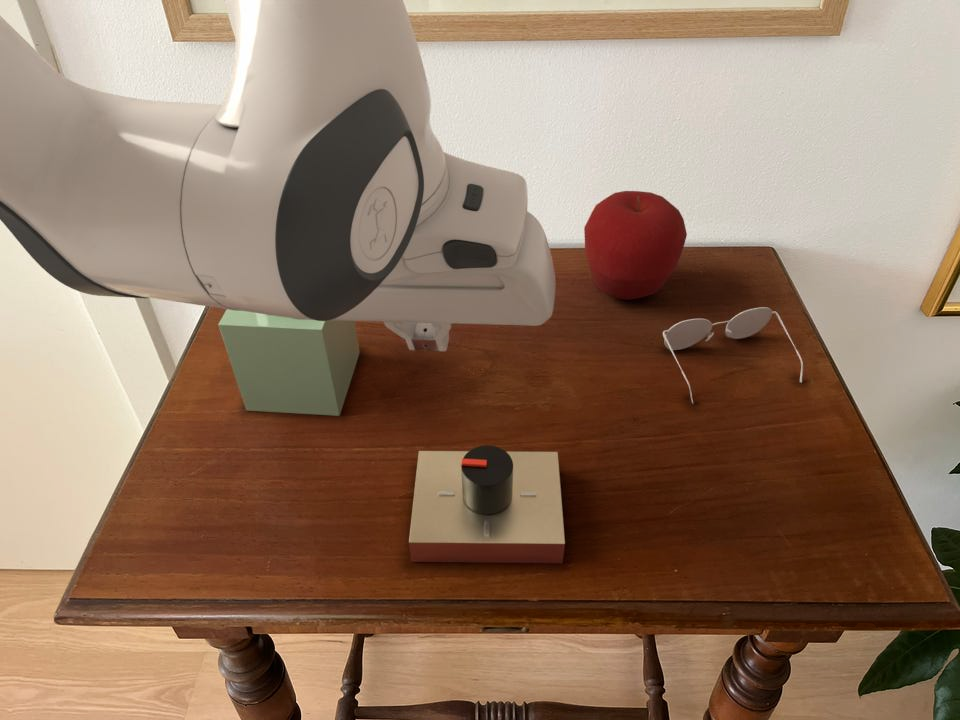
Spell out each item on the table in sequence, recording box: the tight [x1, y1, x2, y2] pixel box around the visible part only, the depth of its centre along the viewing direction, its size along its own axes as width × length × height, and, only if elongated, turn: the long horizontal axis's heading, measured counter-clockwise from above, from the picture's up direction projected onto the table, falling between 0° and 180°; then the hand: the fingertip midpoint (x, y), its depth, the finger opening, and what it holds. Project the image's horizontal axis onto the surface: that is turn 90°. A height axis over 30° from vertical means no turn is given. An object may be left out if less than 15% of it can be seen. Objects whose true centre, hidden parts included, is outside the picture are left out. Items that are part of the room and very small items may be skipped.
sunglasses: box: [662, 306, 804, 404], centre depth 79 cm, size 14×8×5 cm, turn 104°
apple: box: [583, 190, 688, 301], centre depth 86 cm, size 12×12×13 cm
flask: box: [217, 309, 361, 417], centre depth 75 cm, size 10×10×14 cm
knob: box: [461, 445, 513, 514], centre depth 62 cm, size 4×4×4 cm
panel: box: [408, 450, 566, 564], centre depth 65 cm, size 10×13×3 cm
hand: (430, 344), depth 56 cm, fingers closed
